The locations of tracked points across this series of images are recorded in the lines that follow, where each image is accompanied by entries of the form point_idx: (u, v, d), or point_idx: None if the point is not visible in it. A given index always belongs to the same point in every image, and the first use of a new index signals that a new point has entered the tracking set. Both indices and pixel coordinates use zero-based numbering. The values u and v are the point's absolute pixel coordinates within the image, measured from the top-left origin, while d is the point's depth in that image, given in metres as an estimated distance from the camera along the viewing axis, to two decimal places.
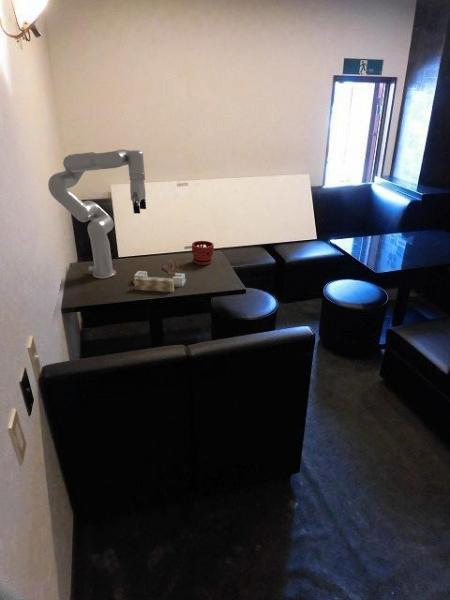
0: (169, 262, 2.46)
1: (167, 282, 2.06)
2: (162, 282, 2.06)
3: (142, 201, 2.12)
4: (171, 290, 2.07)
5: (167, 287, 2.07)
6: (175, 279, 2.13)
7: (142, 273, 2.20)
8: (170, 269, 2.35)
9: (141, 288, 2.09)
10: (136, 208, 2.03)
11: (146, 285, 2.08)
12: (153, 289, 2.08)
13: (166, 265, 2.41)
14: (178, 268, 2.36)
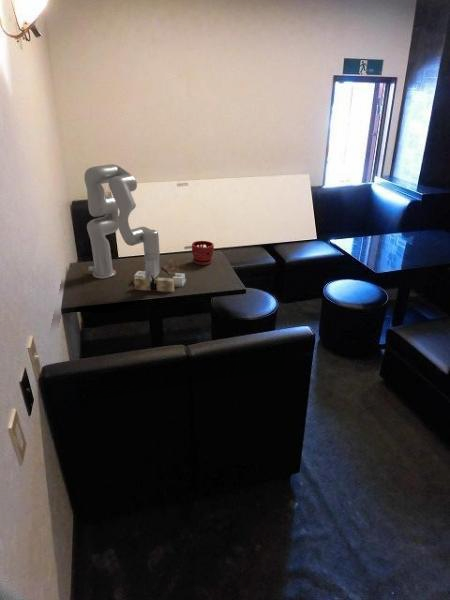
0: (169, 262, 2.46)
1: (167, 282, 2.06)
2: (162, 282, 2.06)
3: None
4: (171, 290, 2.07)
5: (167, 287, 2.07)
6: (175, 279, 2.13)
7: (142, 273, 2.20)
8: (170, 269, 2.35)
9: (141, 288, 2.09)
10: (153, 286, 2.06)
11: (146, 285, 2.08)
12: None
13: (166, 265, 2.41)
14: (178, 268, 2.36)
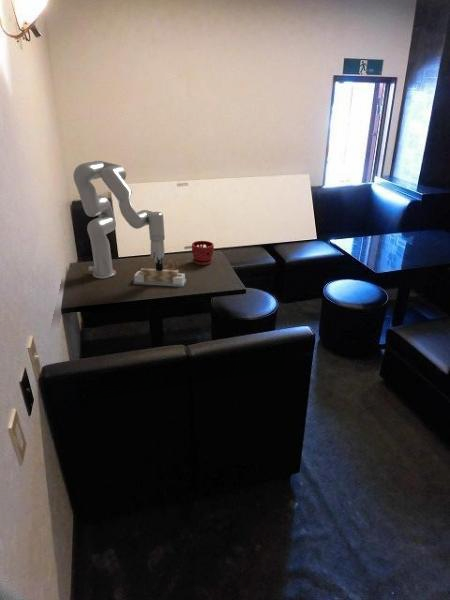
0: (169, 262, 2.46)
1: (172, 273, 2.14)
2: (167, 273, 2.15)
3: None
4: None
5: (172, 278, 2.15)
6: (175, 279, 2.13)
7: None
8: (170, 269, 2.35)
9: (147, 278, 2.18)
10: (159, 266, 2.13)
11: (152, 276, 2.17)
12: (158, 279, 2.17)
13: (166, 265, 2.41)
14: (178, 268, 2.36)
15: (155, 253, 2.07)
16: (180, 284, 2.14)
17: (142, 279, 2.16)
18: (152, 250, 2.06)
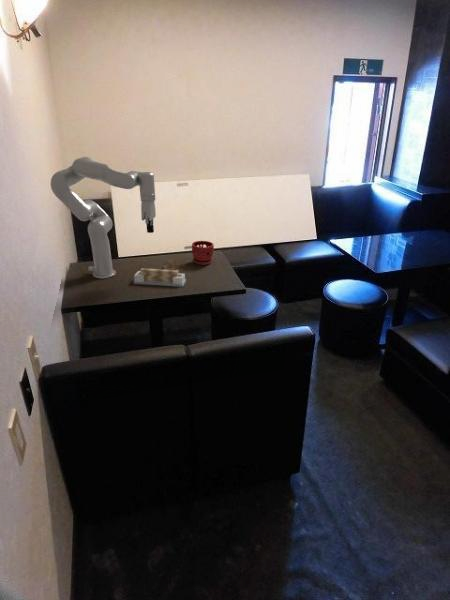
0: (169, 262, 2.46)
1: (172, 272, 2.14)
2: (167, 273, 2.15)
3: None
4: None
5: (172, 278, 2.15)
6: (175, 279, 2.13)
7: None
8: (170, 269, 2.35)
9: (147, 278, 2.18)
10: (149, 228, 2.13)
11: (152, 276, 2.17)
12: (158, 279, 2.17)
13: (166, 265, 2.41)
14: (178, 268, 2.36)
15: (146, 214, 2.08)
16: (180, 284, 2.14)
17: (142, 279, 2.16)
18: (143, 210, 2.06)
